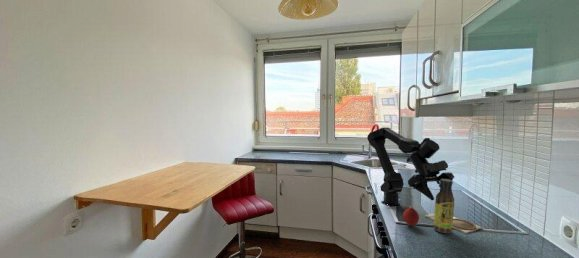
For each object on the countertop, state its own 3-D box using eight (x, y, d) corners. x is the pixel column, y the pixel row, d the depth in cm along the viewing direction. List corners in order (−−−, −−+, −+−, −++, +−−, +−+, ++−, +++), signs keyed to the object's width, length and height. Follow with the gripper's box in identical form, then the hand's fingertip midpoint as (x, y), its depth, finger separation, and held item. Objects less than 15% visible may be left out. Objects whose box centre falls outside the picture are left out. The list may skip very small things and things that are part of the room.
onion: (415, 223, 105) (416, 204, 104) (421, 229, 99) (421, 209, 98) (400, 222, 105) (401, 203, 105) (405, 228, 99) (406, 208, 99)
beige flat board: (425, 216, 111) (425, 214, 111) (440, 213, 116) (441, 211, 115) (465, 233, 96) (465, 231, 96) (482, 228, 100) (482, 226, 100)
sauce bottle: (441, 235, 94) (444, 182, 93) (429, 227, 101) (432, 177, 99) (456, 234, 96) (459, 181, 94) (444, 226, 102) (446, 177, 100)
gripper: (414, 154, 100) (436, 190, 90) (451, 152, 105) (476, 186, 95) (399, 170, 108) (418, 204, 98) (434, 167, 113) (456, 200, 103)
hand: (442, 198), depth 98 cm, fingers open, 9 cm apart
